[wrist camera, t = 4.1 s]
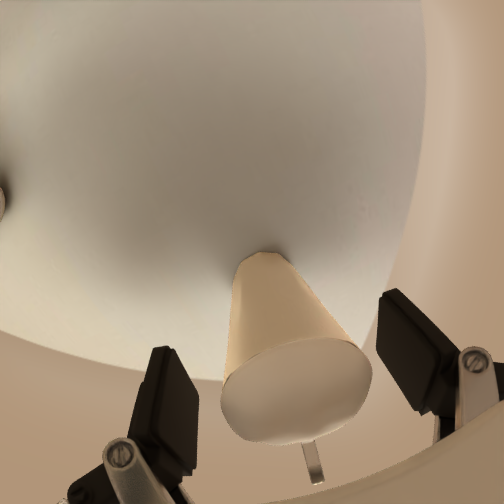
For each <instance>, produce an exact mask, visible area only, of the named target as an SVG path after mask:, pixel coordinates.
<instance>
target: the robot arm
mask: <svg viewBox="0 0 504 504" xmlns="http://www.w3.org/2000/svg"><path fill="white" fill-rule="evenodd" d="M376 351H377V354H378V355H379V357H380V358H381V360H382V361H383V363H384V364H385V366H386V367H387V369H388V371H389V372H390V374H391V375H392V377H393V378H394V380H395V381H396V383H397V385H398V386H399V388H400V389H401V391H402V392H403V394H404V396H405V397H406V399H407V400H408V402H409V404H410V405H411V407H412V408H413V410H414V411H419V413H420V414H421V416H422V415H424V414H426V413H428V412H429V411H432V413H433V414H434V415H435V424H434V436H433V445H432V446H430V447H429V448H427V449H425V450H423V451H421V452H419V453H418V454H416V455H414V456H412V457H410V458H408V459H406V460H404V461H402V462H400V463H397V464H396V465H393V466H391V467H389V468H387V469H384V470H382V471H379V472H377V473H375V474H372V475H370V476H367V477H365V478H362V479H359V480H357V481H354V482H351V483H348V484H345V485H342V486H338V487H335V488H332V489H328V490H325V491H321V492H318V493H314V494H310V495H306V496H301V497H297V498H293V499H287V500H281V501H276V502H270V503H263V504H504V363H498V362H493V360H492V358H491V355H490V354H489V353H488V352H487V351H486V350H485V349H483V348H480V347H475V346H474V347H468V348H466V349H464V350H463V351H462V352H461V351H459V349H458V348H457V347H456V346H455V345H454V344H453V343H452V342H451V341H450V340H449V339H448V337H447V336H446V335H445V334H444V333H443V332H442V331H441V330H440V329H439V328H438V327H437V326H436V325H435V324H434V323H433V322H432V321H431V320H430V319H429V318H428V317H427V316H426V315H425V314H424V313H422V311H421V310H419V308H418V307H416V306H415V305H414V304H413V303H412V302H411V301H410V300H409V299H408V298H407V297H406V296H405V295H404V294H403V293H402V292H400V290H398V289H397V288H394V289H392V290H389V291H386V292H384V293H383V294H382V297H380V298H379V310H378V327H377V340H376ZM198 411H199V395H198V392H197V390H196V388H195V386H194V385H193V383H192V381H191V379H190V378H189V376H188V374H187V372H186V370H185V368H184V366H183V365H182V363H181V361H180V359H179V357H178V355H177V353H176V351H175V350H174V349H170V347H169V346H161V347H155V348H153V350H152V353H151V357H150V360H149V364H148V367H147V371H146V375H145V378H144V382H142V383H141V385H140V388H139V391H138V395H137V399H136V402H135V406H134V410H133V414H132V418H131V422H130V427H129V431H128V435H127V438H117V439H114V440H112V441H111V442H109V443H108V444H107V445H106V447H105V448H104V451H103V455H102V458H103V464H101V465H99V466H98V467H96V468H95V469H93V470H92V471H90V472H89V473H87V474H86V475H84V476H83V477H81V478H80V479H78V480H77V481H75V482H74V483H72V485H70V487H69V489H68V493H67V498H68V499H67V500H66V499H65V498H63V499H62V500H61V501H59V502H58V503H57V504H195V503H194V501H193V500H192V499H191V498H190V496H189V495H188V493H187V492H186V491H185V489H184V488H183V486H182V485H181V482H182V477H183V476H192V470H193V469H196V466H197V435H198Z"/></svg>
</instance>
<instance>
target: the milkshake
mask: <svg viewBox="0 0 504 504" xmlns="http://www.w3.org/2000/svg"><path fill="white" fill-rule="evenodd" d="M371 380H372V367H371V364H370V362H369V360H368V358H367V357H366V355H365V354H364V353H363V352H362V351H361V350H360V349H359V347H358V346H357V345H356V344H355V343H354V341H353V340H352V339H351V338H350V337H349V335H348V334H347V333H346V332H345V331H344V329H343V328H342V327H341V326H340V325H339V323H338V322H337V321H336V320H335V319H334V317H333V316H332V315H331V314H330V313H329V312H328V310H327V309H326V308H325V307H324V305H323V304H322V303H321V301H320V300H319V299H318V298H317V296H316V295H315V294H314V292H313V291H312V290H311V288H310V287H309V286H308V285H307V283H306V282H305V281H304V279H303V278H302V277H301V276H300V274H299V273H298V272H297V271H296V269H295V268H294V267H293V266H292V265H291V264H290V263H289V262H288V261H287V260H285V259H284V258H283V257H282V256H281V255H280V254H278V253H268V252H257V253H256V254H254V255H252V256H250V257H249V258H247V259H245V260H243V261H242V262H241V263H240V265H239V268H238V270H237V272H236V274H235V276H234V279H233V288H232V299H231V311H230V323H229V337H228V347H227V355H226V363H225V371H224V380H223V389H222V394H221V409H222V412H223V414H224V416H225V418H226V420H227V422H228V424H229V425H230V427H231V428H232V430H233V431H234V432H235V433H236V434H238V435H239V436H240V437H241V438H243V439H245V440H248V441H253V442H261V443H264V444H267V445H271V446H284V445H289V444H292V443H298V442H301V444H302V448H303V452H304V456H305V460H306V464H307V468H308V472H309V476H310V480H311V483H312V485H314V484H318V483H322V482H324V481H325V479H324V475H323V471H322V467H321V463H320V459H319V455H318V451H317V448H316V444H315V440H314V439H316V438H318V437H320V436H323V435H326V434H329V433H332V432H334V431H336V430H338V429H340V428H341V427H343V426H344V425H345V424H346V423H347V422H349V421H350V420H351V419H352V418H353V417H354V416H355V415H356V414H357V412H358V411H359V410H360V408H361V406H362V405H363V403H364V401H365V399H366V397H367V394H368V391H369V388H370V384H371Z"/></svg>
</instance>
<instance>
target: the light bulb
mask: <svg viewBox="0 0 504 504" xmlns="http://www.w3.org/2000/svg"><path fill="white" fill-rule="evenodd" d="M5 202H6V199H5V195H4V193H3V191H2V189H1V187H0V222H1V220H2V217H3V214H4V209H5Z"/></svg>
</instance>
